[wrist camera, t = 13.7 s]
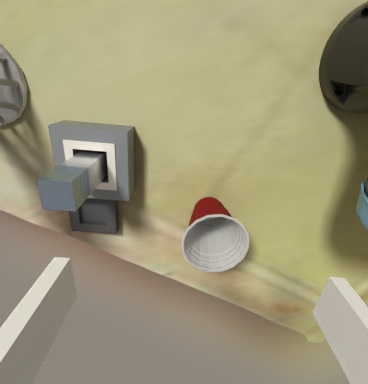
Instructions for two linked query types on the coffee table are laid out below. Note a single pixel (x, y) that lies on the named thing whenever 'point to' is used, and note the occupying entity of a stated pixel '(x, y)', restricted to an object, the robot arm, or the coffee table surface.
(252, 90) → the coffee table surface
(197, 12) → the coffee table surface
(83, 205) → the dark grey slot tray
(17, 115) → the grey tall lattice tower
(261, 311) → the coffee table surface
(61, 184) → the plug
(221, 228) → the plastic cup
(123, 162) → the port
